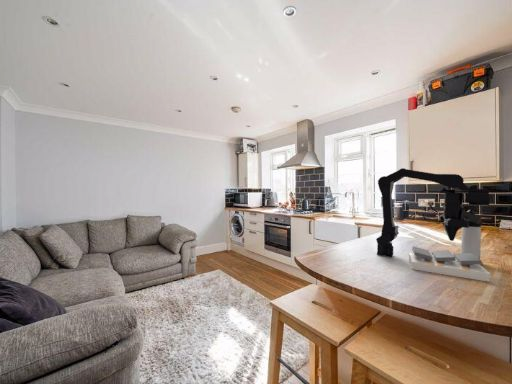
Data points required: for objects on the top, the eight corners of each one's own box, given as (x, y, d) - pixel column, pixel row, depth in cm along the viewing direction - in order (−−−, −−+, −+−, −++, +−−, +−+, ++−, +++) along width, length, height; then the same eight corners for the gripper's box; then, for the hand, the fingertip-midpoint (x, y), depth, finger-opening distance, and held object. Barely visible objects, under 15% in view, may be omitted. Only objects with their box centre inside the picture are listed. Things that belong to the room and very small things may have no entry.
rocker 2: (436, 261, 88) (435, 257, 88) (431, 253, 97) (431, 250, 97) (455, 260, 85) (455, 257, 85) (449, 253, 94) (448, 250, 94)
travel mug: (485, 264, 95) (486, 219, 94) (467, 263, 96) (468, 219, 95) (473, 260, 101) (474, 217, 100) (457, 259, 102) (458, 217, 101)
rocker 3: (461, 264, 84) (460, 261, 84) (453, 256, 93) (453, 253, 94) (482, 264, 81) (481, 260, 81) (472, 256, 90) (471, 252, 90)
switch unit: (411, 268, 90) (412, 259, 89) (408, 258, 102) (408, 250, 102) (490, 281, 77) (490, 270, 77) (475, 268, 90) (475, 258, 90)
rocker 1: (414, 255, 92) (415, 252, 92) (411, 248, 101) (412, 246, 101) (431, 260, 89) (432, 257, 89) (427, 253, 98) (428, 250, 98)
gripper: (488, 207, 78) (486, 249, 79) (472, 203, 94) (470, 238, 95) (448, 205, 84) (446, 244, 85) (439, 202, 100) (437, 235, 100)
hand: (451, 240), depth 91 cm, fingers closed
